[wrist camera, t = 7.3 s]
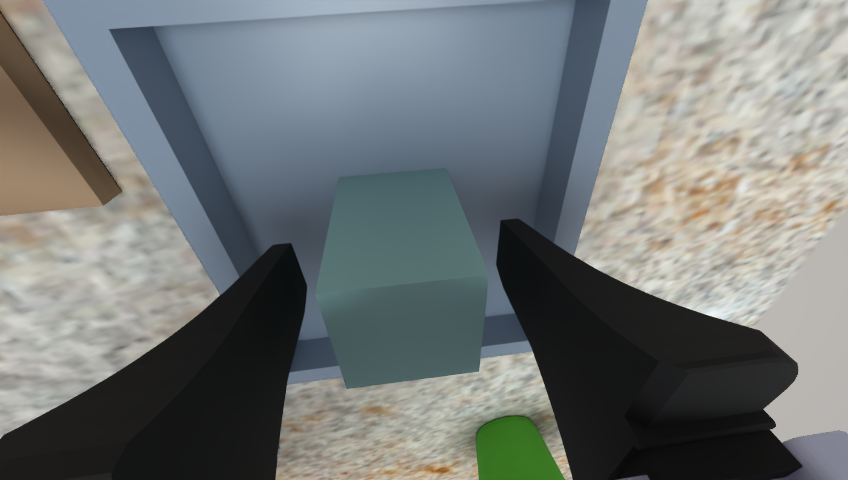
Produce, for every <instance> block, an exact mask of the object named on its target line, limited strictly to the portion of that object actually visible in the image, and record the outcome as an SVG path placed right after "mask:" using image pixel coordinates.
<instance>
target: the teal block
mask: <svg viewBox="0 0 848 480" xmlns="http://www.w3.org/2000/svg"><path fill="white" fill-rule="evenodd" d="M488 283H489V273H488V270H487V268H486V265H485V263H484V260H483V258H482V256H481V253H480V251H479V248H478V246H477V243H476V241H475V238H474V236H473V233H472V231H471V229H470V226H469V224H468V221H467V219H466V216H465V214H464V211H463V209H462V207H461V204H460V202H459V199H458V197H457V194H456V192H455V189H454V187H453V185H452V182H451V180H450V177H449V175H448V172H447V170H446V168H440V169H428V170H417V171H405V172H394V173H382V174H370V175H359V176H347V177H339V180H338V185H337V189H336V194H335V199H334V204H333V209H332V214H331V218H330V223H329V228H328V233H327V238H326V242H325V247H324V252H323V257H322V262H321V267H320V271H319V276H318V281H317V286H316V291H315V296H316V299H317V302H318V305H319V308H320V311H321V314H322V317H323V320H324V323H325V326H326V329H327V332H328V335H329V338H330V341H331V344H332V346H333V349H334V352H335V355H336V358H337V361H338V364H339V367H340V370H341V373H342V376H343V379H344V382H345V385H346V388H347V389H349V388H357V387H364V386H372V385H379V384H387V383H395V382H402V381H410V380H417V379H425V378H433V377H440V376H448V375H455V374H463V373H471V372H478V371H479V366H480V357H481V348H482V339H483V329H484V320H485V311H486V302H487V292H488Z"/></svg>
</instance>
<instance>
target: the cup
mask: <svg viewBox="0 0 848 480" xmlns="http://www.w3.org/2000/svg"><path fill="white" fill-rule="evenodd" d="M476 449H477V461H478V473H479V480H565V479H564V477H563V475H562V473H561V472H560V470H559V468H558V466H557V464H556V462H555V460H554V459H553V457H552V455H551V453H550V451H549V449H548V447H547V446H546V444H545V442H544V440H543V438H542V436H541V434H540V433H539V431H538V429H537V427H536V426H535V425H534V424H532V422H531V420H530V419H528V418H526V417H522V416H509V417H503V418H499V419H496V420H493V421H491V422H489V423H487V424H485V425H484V426H483V427H481V428H480V429H479V431H478V433H477V439H476Z"/></svg>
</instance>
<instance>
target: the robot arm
mask: <svg viewBox="0 0 848 480" xmlns="http://www.w3.org/2000/svg"><path fill="white" fill-rule="evenodd" d="M496 266H497V270H498V273H499V276H500V280H501V283H502V286H503V289H504V291H505V293H506V295H507V297H508V299H509V301H510V304H511V306H512V308H513V310H514V312H515V314H516V316H517V318H518V320H519V322H520V325H521V327H522V329H523V331H524V333H525V335H526V337H527V339H528V341H529V344H530V346H531V348H532V351H533V353H534V356H535V359H536V362H537V364H538V367H539V370H540V373H541V376H542V378H543V381H544V385H545V388H546V391H547V394H548V397H549V400H550V403H551V406H552V409H553V412H554V415H555V419H556V422H557V425H558V428H559V432H560V435H561V438H562V442H563V445H564V449H565V452H566V456H567V459H568V463H569V467H570V470H571V474H572V477H573V480H848V434H847V433H846V432H843V431H833V432H826V433H820V434H813V435H807V436H801V437H797V438H793V439H790V440H788V441H785V442H783V443H781V442H780V440H779V439H778V438H777V437H776V436H775V435H774V434H773V433H772V432H771V431H770V429H773V428H775V427H776V424H775V422H774V420H773V419H772V418H771V417H770V416H769V415H768V414H767V413H766V412H765V411H764V410H763V409H764V408H765V407H766V406H767V405H769V404H770V403H771V402H772V401H773V400H774V399H775V398H777V397H778V396H779V395H780V394H781V393H782V392H784V391H785V390H786V389H787V388H788V387H789V386H790V385H791V384H792V383H793V382H794V381H795V379H796V377H797V375H798V365H797V363H796V362H795V361H794V360H793V359H792V358H791V357H789V355H787V354H786V353H785V352H784V351H783V350H782V349H780V348H779V347H778V346H777V345H776V344H775V343H774V342H772V341H771V340H770V339H769V338H768V337H767V336H766V335H764V334H763V333H762V332H761V331H759V330H756V329H753V328H749V327H746V326H742V325H739V324H735V323H732V322H728V321H725V320H722V319H718V318H715V317H711V316H708V315H705V314H702V313H699V312H696V311H693V310H690V309H687V308H684V307H682V306H679V305H676V304H673V303H671V302H668V301H665V300H663V299H660V298H657V297H655V296H653V295H650V294H648V293H645V292H643V291H641V290H638V289H636V288H634V287H631V286H629V285H627V284H625V283H623V282H621V281H619V280H617V279H615V278H613V277H611V276H609V275H607V274H605V273H603V272H601V271H599V270H597V269H595V268H593V267H592V266H590V265H588V264H586V263H585V262H583V261H581V260H580V259H578V258H576V257H575V256H573V255H571V254H570V253H568V252H567V251H565V250H564V249H562V248H560V247H559V246H557V245H556V244H555V243H553V242H552V241H550V240H549V239H547V238H546V237H544V236H543V235H541V234H540V233H539V232H537V231H536V230H534V229H533V228H532V227H530V226H529V225H527V224H526V223H524V222H523V221H521V220H520V219H518V218H515V219H506V220H501V221H500V231H499V240H498V249H497V259H496ZM306 297H307V284H306V281H305V278H304V276H303V273H302V270H301V268H300V265H299V262H298V259H297V257H296V254H295V251H294V248H293V246H292V243H285V244H275V245H272V246H271V247H270V248H269V249H268V250H267V251H266V252H265V253H264V254H263V255H262V256H261V257H260V258H259V259H258V260H257V261H256V262H255V263H254V264H253V265H252V266H251V267H250V268H249V269H248V270H247V271H246V272H245V273H243V274H242V275H241V276H240V277H239V278H238V279H237V280H236V281H235V282H234V283H233V284H232V285H231V286H230V287H229V288H228V289H227V290H226V291H225V292H224V293H222V294H221V295H220V296H219V297H218V298H217V299H216V300H215V301H213V302H212V303H211V304H210V305H209V306H208V307H207V308H206V309H205V310H203V311H202V312H201V313H200V314H199V315H197V316H196V317H195V318H194V319H192V320H191V321H190V322H189V323H187V324H186V325H185V326H183V327H182V328H181V329H180V330H178V331H177V332H176V333H174V334H173V335H172V336H170V337H169V338H168V339H166V340H165V341H163V342H162V343H160V344H159V345H157V346H156V347H154V348H153V349H151V350H150V351H149V352H147V353H146V354H144V355H143V356H141V357H140V358H138V359H137V360H135V361H134V362H132V363H131V364H129V365H128V366H126V367H125V368H123V369H121V370H120V371H118V372H117V373H115V374H113V375H112V376H110V377H109V378H107V379H105V380H104V381H102V382H100V383H98V384H97V385H95V386H93V387H92V388H90V389H88V390H87V391H85V392H83V393H81V394H80V395H78V396H76V397H74V398H73V399H71V400H69V401H67V402H65V403H64V404H62V405H60V406H58V407H56V408H54V409H52V410H50V411H49V412H47V413H45V414H43V415H41V416H39V417H37V418H36V419H34V420H32V421H30V422H28V423H26V424H24V425H22V426H21V427H19V428H17V429H15V430H13V431H11V432H9V433H7V434H5V435H4V436H3V437H2V438H1V439H0V480H275V477H276V467H277V458H278V456H279V452H280V451H279V449H278V446H279V438H280V430H281V422H282V414H283V407H284V401H285V394H286V387H287V382H288V377H289V372H290V369H291V365H292V361H293V357H294V353H295V349H296V345H297V341H298V338H299V334H300V330H301V326H302V322H303V318H304V313H305V306H306Z"/></svg>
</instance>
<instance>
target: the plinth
mask: <svg viewBox="0 0 848 480" xmlns="http://www.w3.org/2000/svg"><path fill="white" fill-rule="evenodd" d="M119 193H121V190H120V189H119V187H118V186H117V184H116V183H115V181H114V180H113V178H112V177H111V176H110V174H109V173H108V171H107V170H106V168H105V167H104V165H103V164H102V162H101V161H100V159H99V158H98V156H97V155H96V153H95V152H94V150H93V149H92V148H91V146H90V145H89V143H88V142H87V140H86V139H85V137H84V136H83V134H82V133H81V131H80V130H79V128H78V127H77V125H76V124H75V122H74V121H73V120H72V118H71V117H70V115H69V114H68V112H67V111H66V109H65V108H64V106H63V105H62V103H61V102H60V100H59V99H58V97H57V96H56V94H55V93H54V92H53V90H52V89H51V87H50V86H49V84H48V83H47V81H46V80H45V78H44V77H43V75H42V74H41V72H40V71H39V69H38V68H37V66H36V65H35V63H34V62H33V61H32V59H31V58H30V56H29V55H28V53H27V52H26V50H25V49H24V47H23V46H22V44H21V43H20V41H19V40H18V38H17V37H16V35H15V34H14V33H13V31H12V30H11V28H10V27H9V25H8V24H7V22H6V21H5V19H4V18H3V16H2V15H1V13H0V216H2V215H12V214H22V213H32V212H43V211H53V210H63V209H73V208H83V207H94V206H104V205H105V204H106V203H108V202H109V201H110V200H112V199H113V198H114V197H115V196H117V195H118V194H119Z"/></svg>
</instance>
